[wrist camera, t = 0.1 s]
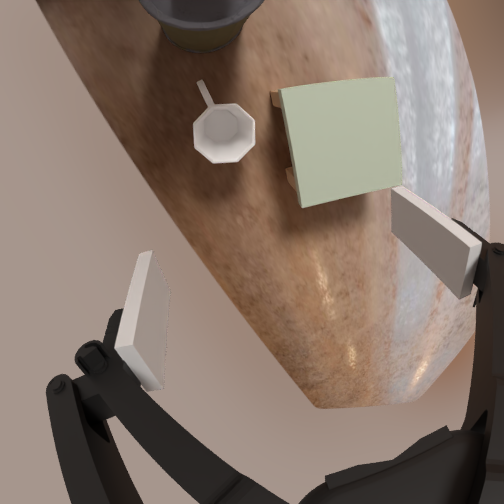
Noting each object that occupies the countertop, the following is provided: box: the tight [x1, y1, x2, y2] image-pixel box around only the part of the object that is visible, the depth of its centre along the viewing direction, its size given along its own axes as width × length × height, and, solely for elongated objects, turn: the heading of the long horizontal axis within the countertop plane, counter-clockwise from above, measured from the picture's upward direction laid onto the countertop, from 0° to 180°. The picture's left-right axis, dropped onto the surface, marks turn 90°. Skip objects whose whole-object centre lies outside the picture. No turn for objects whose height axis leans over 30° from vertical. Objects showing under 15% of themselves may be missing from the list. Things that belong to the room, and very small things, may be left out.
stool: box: [270, 77, 402, 208], centre depth 37 cm, size 14×14×8 cm
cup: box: [193, 80, 255, 163], centre depth 34 cm, size 7×10×8 cm
